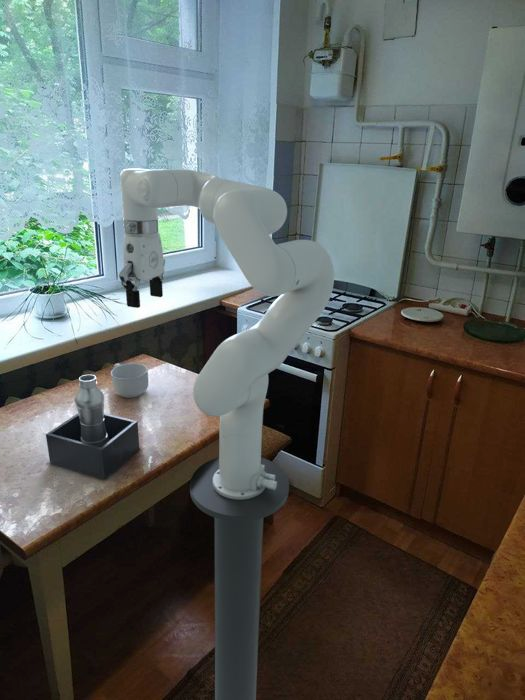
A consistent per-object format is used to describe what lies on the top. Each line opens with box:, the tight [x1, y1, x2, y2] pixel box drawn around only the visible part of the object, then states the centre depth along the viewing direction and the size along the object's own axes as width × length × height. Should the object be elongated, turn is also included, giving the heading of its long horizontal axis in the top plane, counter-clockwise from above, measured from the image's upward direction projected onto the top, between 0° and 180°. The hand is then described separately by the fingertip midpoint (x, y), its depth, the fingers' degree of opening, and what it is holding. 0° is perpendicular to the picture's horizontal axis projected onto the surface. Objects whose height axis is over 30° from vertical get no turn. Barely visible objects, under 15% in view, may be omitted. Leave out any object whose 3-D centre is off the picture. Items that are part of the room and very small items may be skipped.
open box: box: [45, 412, 140, 481], centre depth 118 cm, size 16×14×8 cm
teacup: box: [110, 362, 149, 399], centre depth 150 cm, size 14×11×8 cm
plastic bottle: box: [74, 374, 109, 447], centre depth 116 cm, size 6×7×20 cm
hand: (145, 301), depth 117 cm, fingers open, 9 cm apart
